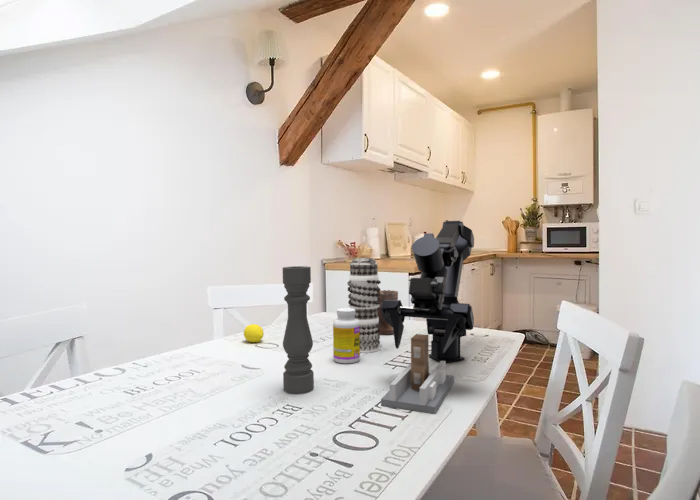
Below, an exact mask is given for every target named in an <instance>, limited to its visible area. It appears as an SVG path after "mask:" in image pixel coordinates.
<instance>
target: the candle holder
mask: <svg viewBox="0 0 700 500" xmlns="http://www.w3.org/2000/svg"><path fill="white" fill-rule="evenodd" d="M311 271H312V270H311V266H305V265H304V266H303V265H302V266H299V265H298V266H296V265H295V266H283V267H282V284H283V285H284V286H283V287H284V289H285V291H286V293H287V294H286V295H285V296H284V298H283V301H285V302H286V304H287V321H286V326H285V331H284V335H283V340H282V347H283V350H284V352H285V353H286V354H287V355H286V357H287V358H288V360H287V361H286V363H285V364H284V371H283V373H282V375H283V377H282V378H283V380H282V381H283V384H282V385H283V391H284V392H285V393H286V394H290V395H291V394H292V395H302V394H306V393H307V394H308V393H310V392H312V391H314V388H315V384H314V382H315V379H314V374H315V373H314V371H313V370H312V368H313V363H312V362H311V361H310V360H309V358H308V357H309V356H310V354H309V353H310V352H311V350H312V349H313V345H314V341H313V337H312V333H311V329H310V324H309V322H308V310H307V307H308V306H307V304H308V301H309V300H310V299H311V296H310V295H309V294H308V293H307V292H308V290H309V288H310V284H311V283H312V279H311V277H312V276H311V274H312V273H311Z"/></svg>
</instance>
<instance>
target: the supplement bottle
mask: <svg viewBox="0 0 700 500" xmlns="http://www.w3.org/2000/svg"><path fill="white" fill-rule="evenodd" d="M355 314H356V310H355V309H353V308H350V307H341V308H337V309H336V315H337V318H336V319H334V320H333V323H332V330H333V331H332V334H333V335H332V336H333V337H332V339H333V340H332V341H333V342H332V344H333V345H332V346H333V347H332V348H333V349H332V351H333V352H332V353H333V355H332V356H333V361H334V362H336V363H338V364H354V363H357V362H358V361H360V358H361V353H360V325H359V321H358V320H357V319H355Z"/></svg>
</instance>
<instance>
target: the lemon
mask: <svg viewBox="0 0 700 500" xmlns="http://www.w3.org/2000/svg"><path fill="white" fill-rule="evenodd" d="M264 334H265V333H264V329H263V328H262V327H261V326H260V325H259V324H254V323H252V324H249V325H247V326H246V327H245V328H244V330H243V337H244V339H245V340H246V341H247V342H249V343H253V344H254V342H256V343H258V342H261V340H262V339H263V338H264Z"/></svg>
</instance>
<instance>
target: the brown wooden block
mask: <svg viewBox="0 0 700 500" xmlns="http://www.w3.org/2000/svg"><path fill="white" fill-rule="evenodd" d="M429 348H430V347H429V335H428V334H421V333H420V334H418V333H416V334H415V335H413V336H412V337H411V338H410V364H411V389H412V390H420V387H421V386H422V384H423V383H424V382H425V381H426V379H427V378H428V377H429V373H430V372H429V370H430V369H429V367H430V366H429V365H430V363H429V358H430V357H429V355H430V353H429V352H430V351H429Z"/></svg>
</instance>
